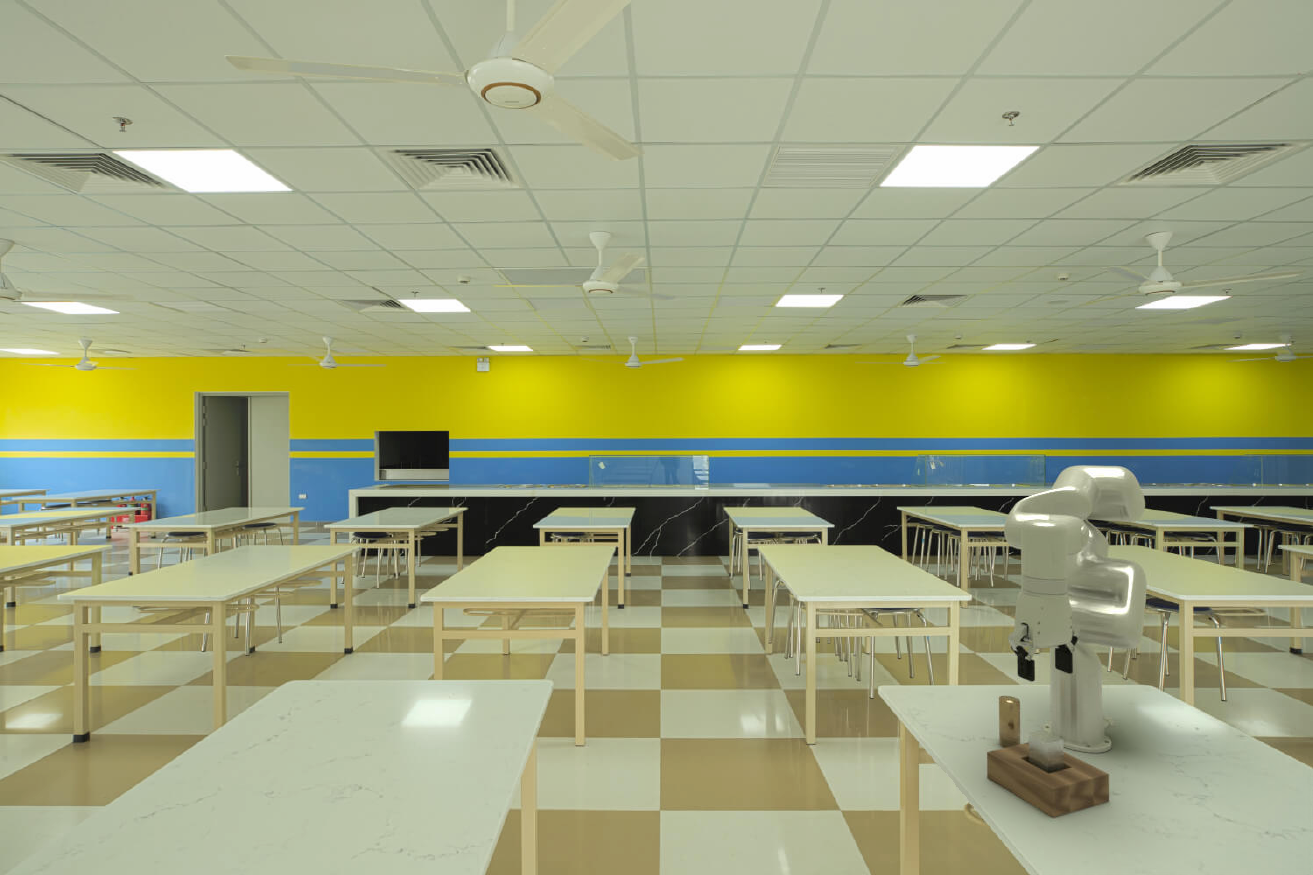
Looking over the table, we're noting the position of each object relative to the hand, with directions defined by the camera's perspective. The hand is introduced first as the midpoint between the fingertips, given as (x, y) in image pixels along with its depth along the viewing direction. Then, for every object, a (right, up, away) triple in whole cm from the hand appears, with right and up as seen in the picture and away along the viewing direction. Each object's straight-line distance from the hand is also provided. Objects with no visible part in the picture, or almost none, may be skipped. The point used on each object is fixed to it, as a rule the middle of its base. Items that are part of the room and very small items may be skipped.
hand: (1045, 674), depth 121 cm
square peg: (0, -22, 0) cm, 22 cm away
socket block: (0, -22, 0) cm, 22 cm away
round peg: (+3, -22, +17) cm, 27 cm away
